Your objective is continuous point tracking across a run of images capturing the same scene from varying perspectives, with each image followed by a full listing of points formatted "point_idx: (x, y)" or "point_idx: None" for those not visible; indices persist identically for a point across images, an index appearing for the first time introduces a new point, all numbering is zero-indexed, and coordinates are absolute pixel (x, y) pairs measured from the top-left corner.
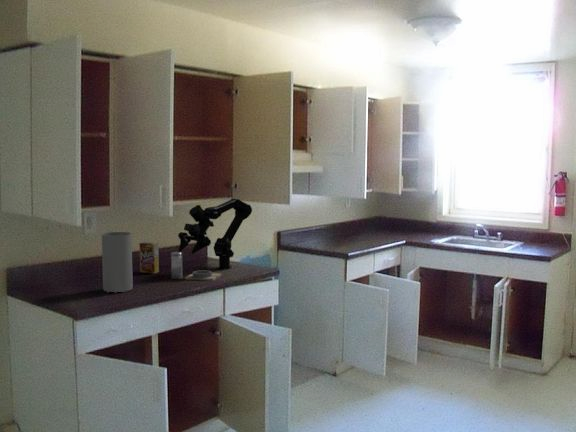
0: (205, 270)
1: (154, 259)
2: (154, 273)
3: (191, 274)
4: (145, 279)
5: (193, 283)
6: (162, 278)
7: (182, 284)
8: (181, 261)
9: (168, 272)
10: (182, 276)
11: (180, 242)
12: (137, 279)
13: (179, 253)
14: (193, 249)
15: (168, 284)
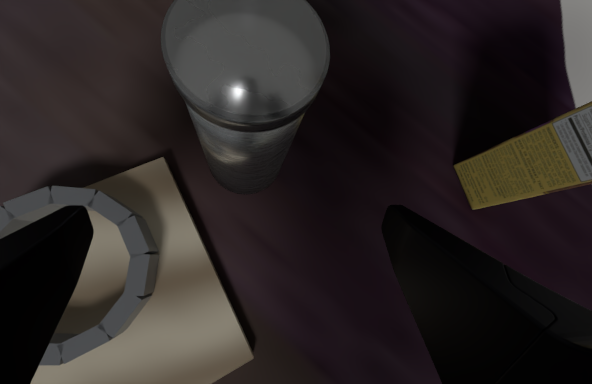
0: (82, 346)
1: (533, 129)
2: (454, 165)
3: (200, 257)
4: (356, 32)
5: (15, 104)
6: None
7: (64, 45)
8: (189, 113)
9: None
10: (215, 178)
11: (560, 298)
12: (386, 12)
13: (168, 19)
14: (17, 235)
15: (144, 5)
